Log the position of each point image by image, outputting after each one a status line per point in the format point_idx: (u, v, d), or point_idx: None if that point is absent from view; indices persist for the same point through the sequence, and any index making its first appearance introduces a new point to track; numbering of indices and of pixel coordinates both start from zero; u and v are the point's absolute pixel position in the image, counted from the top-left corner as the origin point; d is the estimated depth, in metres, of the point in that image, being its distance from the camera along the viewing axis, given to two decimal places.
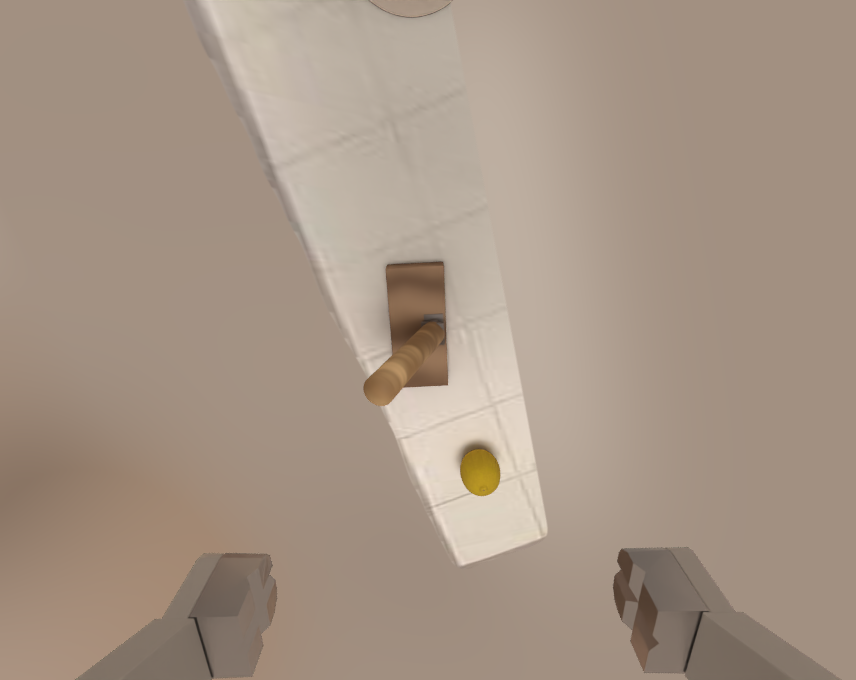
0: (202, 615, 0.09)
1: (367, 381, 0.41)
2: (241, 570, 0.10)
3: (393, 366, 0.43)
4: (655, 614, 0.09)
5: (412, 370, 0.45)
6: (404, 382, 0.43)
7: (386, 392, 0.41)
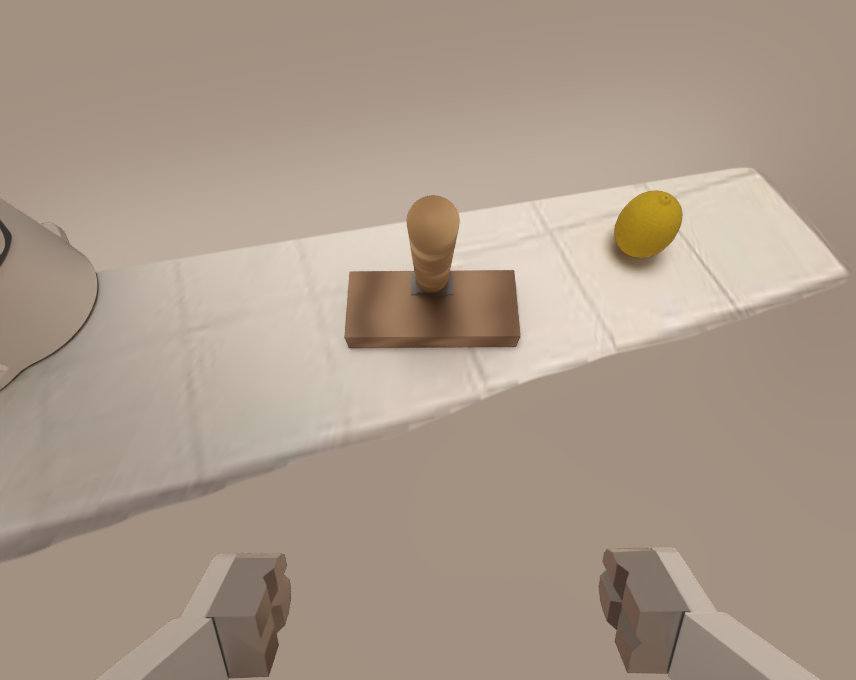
0: (219, 615, 0.09)
1: (417, 238, 0.25)
2: (257, 570, 0.10)
3: None
4: (637, 614, 0.09)
5: None
6: None
7: (433, 206, 0.25)
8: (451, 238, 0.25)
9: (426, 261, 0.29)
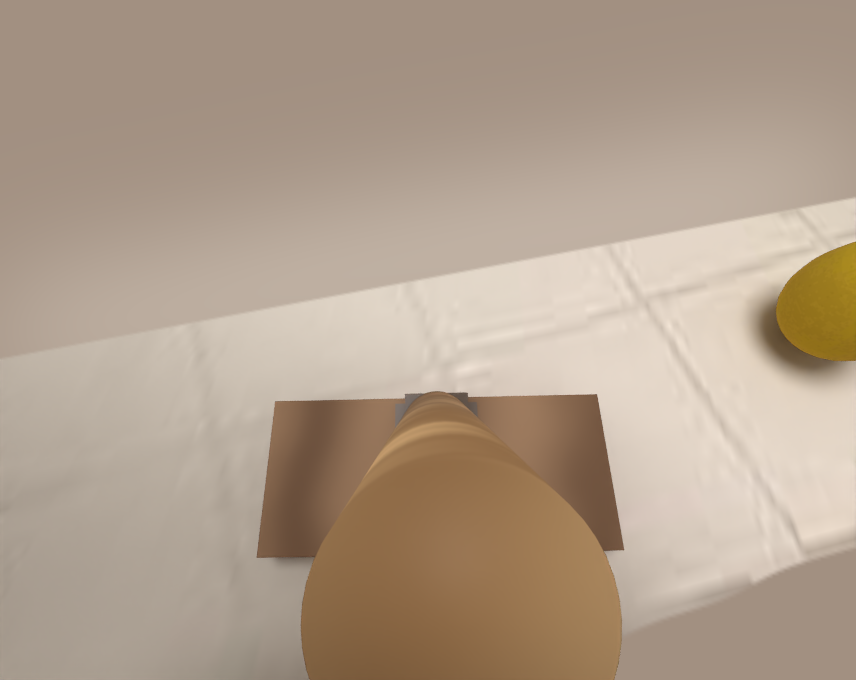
0: None
1: None
2: None
3: None
4: None
5: (443, 413, 0.09)
6: (456, 427, 0.07)
7: (458, 531, 0.04)
8: None
9: None
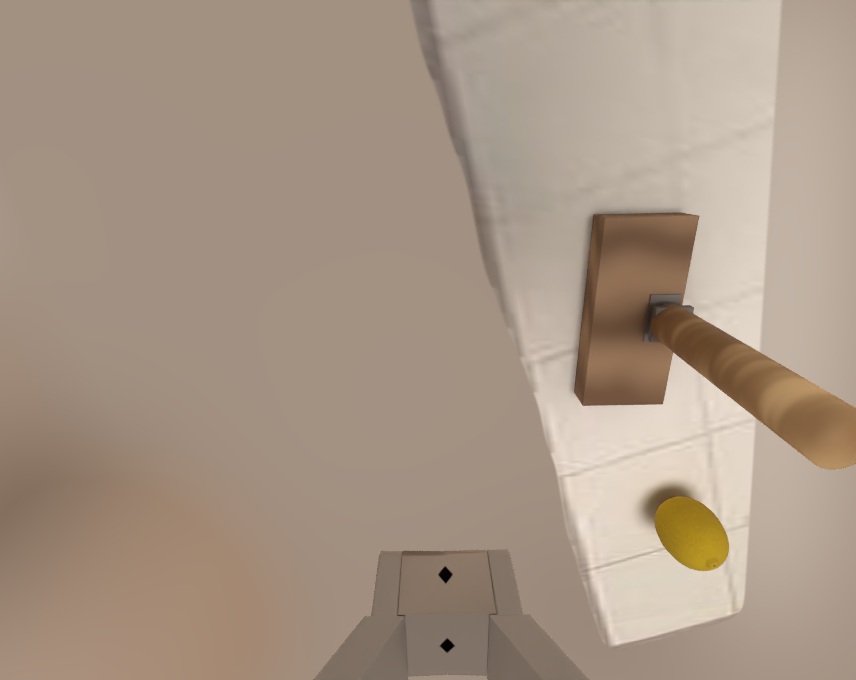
0: (410, 613, 0.09)
1: (826, 424, 0.20)
2: (428, 568, 0.09)
3: (816, 386, 0.22)
4: (446, 617, 0.09)
5: None
6: None
7: None
8: (812, 461, 0.20)
9: (758, 394, 0.23)
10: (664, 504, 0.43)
